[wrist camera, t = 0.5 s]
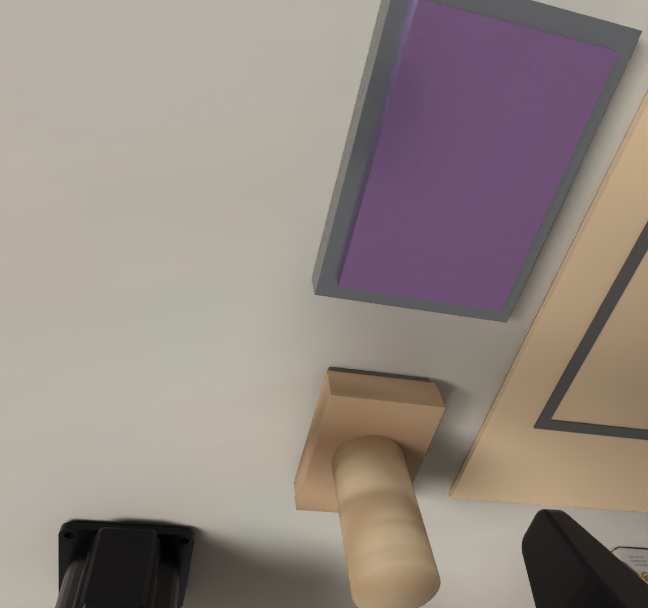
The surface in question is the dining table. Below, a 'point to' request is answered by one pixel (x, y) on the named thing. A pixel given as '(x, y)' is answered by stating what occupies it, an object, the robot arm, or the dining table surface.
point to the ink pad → (464, 150)
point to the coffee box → (634, 560)
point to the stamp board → (580, 367)
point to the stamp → (374, 480)
